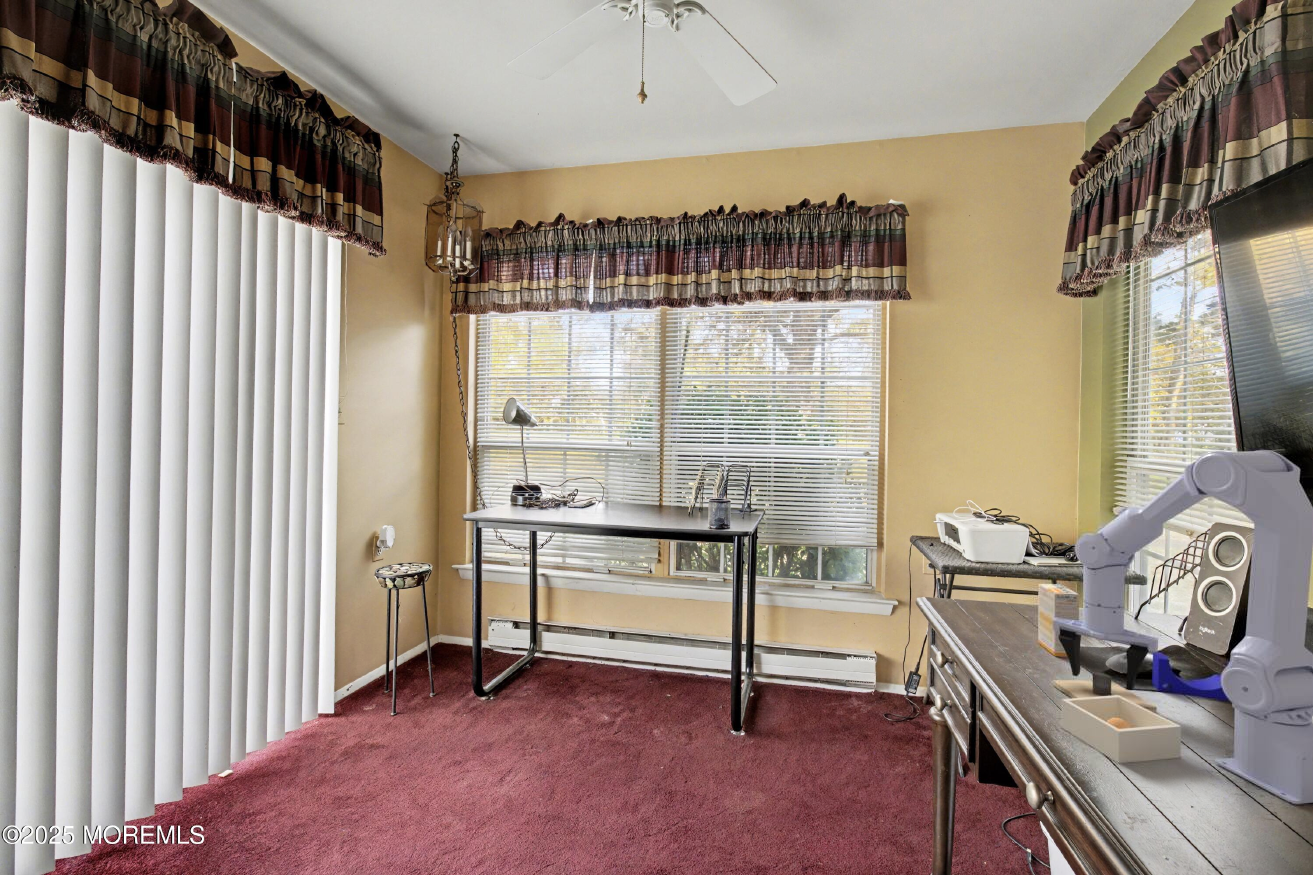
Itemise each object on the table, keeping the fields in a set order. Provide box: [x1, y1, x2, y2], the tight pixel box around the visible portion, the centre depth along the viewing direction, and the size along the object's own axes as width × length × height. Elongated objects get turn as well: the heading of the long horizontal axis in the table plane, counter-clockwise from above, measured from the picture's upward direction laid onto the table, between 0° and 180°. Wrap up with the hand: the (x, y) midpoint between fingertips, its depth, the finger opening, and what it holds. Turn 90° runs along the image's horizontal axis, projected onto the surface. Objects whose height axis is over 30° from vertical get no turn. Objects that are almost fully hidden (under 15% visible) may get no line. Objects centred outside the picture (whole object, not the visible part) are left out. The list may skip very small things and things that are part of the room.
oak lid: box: [1051, 672, 1158, 713], centre depth 104 cm, size 10×10×4 cm
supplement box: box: [1037, 583, 1080, 658], centre depth 126 cm, size 8×5×13 cm, turn 168°
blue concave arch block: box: [1151, 652, 1231, 702], centre depth 107 cm, size 12×4×6 cm, turn 66°
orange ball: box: [1107, 718, 1130, 729], centre depth 90 cm, size 3×3×3 cm
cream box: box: [1060, 695, 1182, 764], centre depth 90 cm, size 10×10×4 cm
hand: (1102, 681), depth 104 cm, fingers open, 7 cm apart
